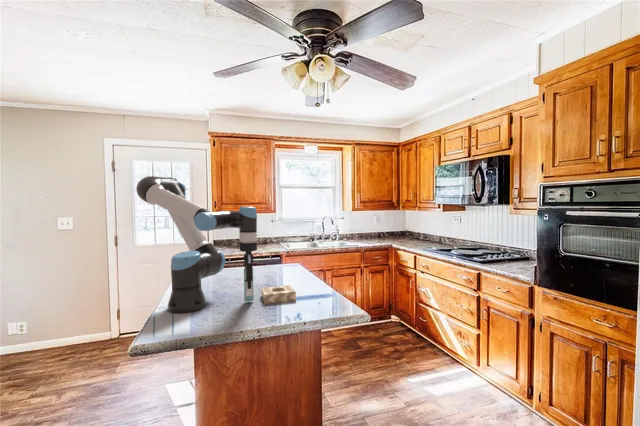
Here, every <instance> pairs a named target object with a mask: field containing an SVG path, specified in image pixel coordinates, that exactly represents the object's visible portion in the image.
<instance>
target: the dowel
mask: <svg viewBox="0 0 640 426" xmlns="http://www.w3.org/2000/svg"><path fill="white" fill-rule="evenodd" d="M252 269H253V270H254V268H253V267H252ZM245 280H246V268H245V267H244V268H243V289H244V290H243V295H244V297H243V299H244V300H243V301H244V302H253V301H254V280H253V281H252V296H246V282H245Z"/></svg>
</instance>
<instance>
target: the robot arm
mask: <svg viewBox="0 0 640 426" xmlns="http://www.w3.org/2000/svg"><path fill="white" fill-rule="evenodd" d="M186 190H187V188H186V185H185V184H184V182H182V180H180V179H179V178H178V179H177V178H175V177H164V176H163V177H162V176H155V175H153V176H152V175H150V176H146V177H143V178H141V179H140V180H139V181H138V182H137V185H136V194H137V196H138V197H139V198H140V199H141V200H142V201H144V202H146V203H148V204H149V205H152V206H153V205H157V206H159V207H160V208H162V209H164V210H166V211H168V214H169V216H170V217H171V219H172V221H173V222H174V224H175V226H176V228H177V229H178V231H179V234H180V235H181V238H183V240H184V243H185V244H186V246H187V248H188V250H187V251H182V252H178V253H176V254H175V255H173V256H172V257H171V262H170V263H171V264H170V270H171V271H170V273H171V274H170V275H171V276H170V277H171V294H170V296H169V300H168V304H167V311H168V312H170V313H173V314H186V313H193V312H197V311H200V310H202V309H204V308H205V307H206V306H207V299H206V296H205V294H204V292H203V288H202V279H205V278H207V277H211V276H215V275H217V274H219V273H221V272H222V271H223V269H224V268H225V264H226V257H225V256H226V255H225V254H224V252H223V251H222V250H221V249H219V248H215V246H214V244H213V243H212V242H209V241H208V240H207V239H206V237H205V236H204V233H203V232H209V231H214V230H222V229H233V228H234V229H239V230H238V231H239V232H238V233H239V236H238V237H239V251H241V252H243V253H244V254H243V262H244V269H245V268H246V280H245V282H246V296H252V281H253V282H254V268H253V265H254V255H253V253H252V252H255V251H257V250H258V242H257V241H258V236H259V234H258V225H257V224H258V223H257V222H258V216H257V215H258V214H257V208H256V207H255V206H240V207H239V209H238V210H235V211H234V210H220V211H212V210H209V209H207V208H205V207H203V206H201V205H199V204H197V203H195V202H192V201H190V200H188V199H187V198H186V197H187V196H186V195H187V192H186ZM202 231H203V232H202ZM252 268H253V269H252Z"/></svg>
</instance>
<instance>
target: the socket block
mask: <svg viewBox="0 0 640 426" xmlns="http://www.w3.org/2000/svg"><path fill="white" fill-rule="evenodd" d="M260 289H261V298H262V301H263V303H264V305H266V304H275V303H286V302H287V303H288V302H295V301H297V291H296V290H295V289H294V288H293V286H292V285H291V284H288V285H280V286H279V285H278V286H265V287H261V288H260Z"/></svg>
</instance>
